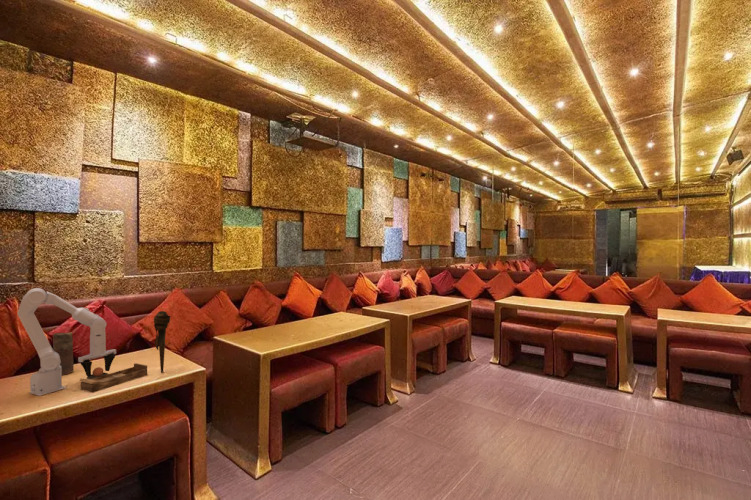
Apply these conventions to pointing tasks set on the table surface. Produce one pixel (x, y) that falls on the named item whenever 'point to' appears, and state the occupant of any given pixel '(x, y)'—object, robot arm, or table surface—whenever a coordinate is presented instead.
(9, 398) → the table surface
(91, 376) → the grey square tray
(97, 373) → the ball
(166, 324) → the decorative torch
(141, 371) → the lane
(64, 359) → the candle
